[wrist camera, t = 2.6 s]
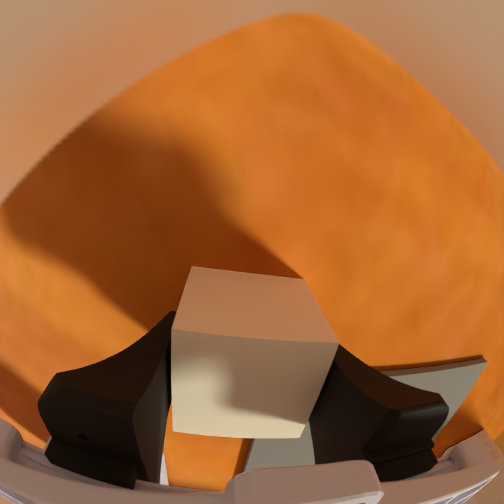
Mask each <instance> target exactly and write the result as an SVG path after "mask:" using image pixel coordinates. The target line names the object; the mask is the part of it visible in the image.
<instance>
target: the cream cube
mask: <svg viewBox="0 0 504 504" xmlns="http://www.w3.org/2000/svg"><path fill="white" fill-rule="evenodd" d="M338 345H339V341H338V339H337V337H336V336H335V334H334V332H333V330H332V328H331V326H330V325H329V323H328V321H327V319H326V317H325V316H324V314H323V312H322V310H321V308H320V307H319V305H318V303H317V301H316V299H315V298H314V296H313V294H312V292H311V291H310V289H309V287H308V285H307V284H306V282H305V280H304V279H299V278H290V277H281V276H272V275H263V274H254V273H246V272H237V271H229V270H221V269H213V268H204V267H197V266H192V267H191V270H190V273H189V276H188V279H187V282H186V285H185V288H184V291H183V294H182V297H181V300H180V303H179V306H178V310H177V313H176V316H175V319H174V322H173V326H172V329H171V387H172V418H173V431H175V432H182V433H190V434H199V435H209V436H220V437H235V438H300V436H301V434H302V432H303V430H304V427H305V425H306V423H307V421H308V419H309V417H310V414H311V412H312V410H313V408H314V405H315V403H316V401H317V398H318V396H319V394H320V391H321V389H322V386H323V384H324V382H325V379H326V377H327V374H328V372H329V369H330V366H331V364H332V361H333V359H334V356H335V353H336V351H337V348H338Z"/></svg>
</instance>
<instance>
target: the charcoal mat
mask: <svg viewBox="0 0 504 504" xmlns="http://www.w3.org/2000/svg"><path fill="white" fill-rule="evenodd" d="M486 364H487V361H486V360H485V359H484V358H480V359H475V360H470V361H464V362H458V363H451V364H444V365H437V366H429V367H421V368H411V369H401V370H388V371H378V372H380V373H382V374H384V375H386V376H388V377H390V378H393V379H395V380H397V381H399V382H402V383H404V384H407V385H410V386H413V387H416V388H419V389H423V390H427V391H431V392H435V393H439V394H440V395H441V396H442V398H443V399H444V401H445V402H446V403H447V405H448V406H449V413H448V416H447V419H446V420H445V422H444V423H443V425H442V426H441V427H440V429H439V430H438V431H437V432H436V434H435V435H434V436H433V437H432V441H434V440H435V438H436V437H437V436H438V435H439V434H440V432H441V431H442V430H443V428H444V427H445V426H446V425H447V423H448V422H449V421H450V419H451V418H452V417H453V415H454V414H455V412H456V411H457V410H458V408H459V407H460V405H461V404H462V402H463V401H464V399H465V398H466V396H467V395H468V393H469V392H470V390H471V389H472V387H473V386H474V384H475V382H476V381H477V379H478V377H479V376H480V374H481V372H482V371H483V369H484V367H485V365H486ZM306 465H315V458H314V450H313V443H312V437H311V431H310V425H309V421H307V423H306V425H305V427H304V430H303V432H302V434H301V436H300V438H252V442H251V445H250V448H249V451H248V455H247V458H246V461H245V464H244V468H243V471H242V473H243V472H246V471H249V470H252V469H261V468H269V467H291V466H306Z"/></svg>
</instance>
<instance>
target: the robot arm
mask: <svg viewBox="0 0 504 504" xmlns="http://www.w3.org/2000/svg"><path fill="white" fill-rule="evenodd" d="M176 313H177V312H176V311H170V312H169V313H168V314H167V315H166V316H165V317H164V318H163V319H162V320H161V321H160V322H159V323H158V324H157V325H156V326H155V327H153V328H152V329H151V330H150V331H149V332H148V333H147V334H145V335H144V336H143V337H142V338H140V339H139V340H138V341H136V342H135V343H134V344H132V345H131V346H129V347H128V348H126V349H124V350H123V351H121V352H119V353H117V354H115V355H113V356H111V357H109V358H107V359H105V360H102V361H100V362H97V363H95V364H92V365H89V366H86V367H82V368H79V369H75V370H70V371H65V372H60V373H56V374H55V376H54V377H53V378H52V380H51V381H50V382H49V384H48V386H47V387H46V389H45V391H44V392H43V394H42V395H41V397H40V399H39V401H38V410H39V413H40V415H41V417H42V419H43V421H44V423H45V425H46V427H47V429H48V431H49V433H50V437H49V439H48V441H47V443H46V445H45V448H44V449H41V448H39V447H37V446H35V445H32V444H30V443H28V442H26V441H24V440H23V438H22V436H21V434H20V432H19V431H18V430H17V429H16V428H15V427H14V426H13V425H11V424H10V423H8V422H6V421H4V420H2V419H1V418H0V495H1V496H2V497H4V498H5V499H7V500H9V501H10V502H12V503H14V504H462V503H464V502H465V501H467V500H468V499H469V498H470V497H472V496H473V495H474V494H475V493H476V492H478V491H479V490H480V489H481V488H482V487H484V486H485V485H486V484H487V483H488V482H489V481H490V480H491V479H492V478H493V477H495V476H496V475H497V474H498V473H499V471H500V469H499V468H498V466H497V465H496V463H495V462H494V460H493V459H492V457H491V456H490V454H489V453H488V451H487V450H486V448H485V447H484V445H483V444H482V442H481V441H480V440H479V438H478V437H477V436H473V437H470V438H468V439H466V440H464V441H461V442H460V443H458V444H457V445H456V446H455V447H454V448H453V449H452V450H451V451H450V452H449V454H448V455H446V456H443V457H441V458H438V459H437V458H436V457H435V455H434V453H433V451H432V450H431V448H433V447H434V443H433V441H432V437H433V436H434V435H435V434H436V432H437V431H438V430H439V429H440V427H441V426H442V425H443V423H444V422H445V420H446V419H447V416H448V413H449V406H448V405H447V403H446V402H445V401H444V399H443V398H442V396H441V395H440V394H439V393H435V392H431V391H427V390H423V389H419V388H416V387H413V386H410V385H407V384H404V383H402V382H399V381H397V380H395V379H393V378H390V377H388V376H386V375H384V374H382V373H380V372H378V371H377V370H375V369H373V368H372V367H370V366H368V365H367V364H365V363H364V362H362V361H361V360H359V359H358V358H357V357H355V356H354V355H352V354H351V353H350V352H349V351H347V350H346V349H345V348H344V347H342V346H341V345H340V344H339V345H338V348H337V351H336V353H335V356H334V359H333V361H332V364H331V366H330V369H329V372H328V374H327V377H326V379H325V382H324V384H323V386H322V389H321V391H320V394H319V396H318V398H317V401H316V403H315V405H314V408H313V410H312V412H311V414H310V417H309V419H308V421H309V425H310V431H311V437H312V443H313V450H314V458H315V465H306V466H291V467H269V468H261V469H252V470H249V471H246V472H243V473H240V474H237V475H236V476H234V477H233V478H232V479H231V480H230V481H229V482H228V483H227V486H226V490H225V491H212V490H200V489H191V488H182V487H175V486H169V483H168V477H167V470H166V463H165V455H164V453H163V445H164V437H165V430H166V423H167V417H168V412H169V408H170V404H171V401H172V387H171V329H172V326H173V322H174V319H175V316H176Z"/></svg>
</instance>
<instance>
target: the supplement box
mask: <svg viewBox="0 0 504 504" xmlns="http://www.w3.org/2000/svg"><path fill="white" fill-rule="evenodd" d="M473 436H477V437H478V438H479V440H480V441H481V442H482V444H483V445H484V447H485V448H486V450H487V451H488V453H489V454H490V456H491V457H492V459H493V460H494V462H495V463H496V465H497V466H498V468H499V469H500V471H499V473H498V474H497V475H496V476H495V477H493V478H492V479H491V480H490V481H489V482H488V483H487V484H486V485H485V486H484V487H482V488H481V489H480V490H479V491H478V492H476V493H475V494H474V495H473V496H472V497H470V498H469V499H468V500H467V501H465V502H464V503H462V504H504V455H503V454H502V452H501V451H500V450H499V448H498V447H497V445H496V444H495V443H494V441H493V440H492V439H491V437H490V436H489V434H488V433H487V432H486V430H485V429H483V430H482V431H480V432H478V433H477V434H475V435H473ZM473 436H471V437H473ZM469 438H470V437H469ZM456 445H457V444H456ZM456 445H454V446H452V447H450V448H448V449H447V450H446V451H445V452H444V454H443V455H442V456H441V457H443V456H446V455H448V454H449V452H450V451H451V450H452V449H453V448H454V447H455V446H456ZM441 457H440V458H441Z"/></svg>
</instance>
